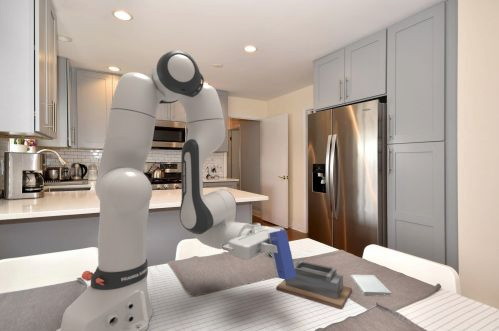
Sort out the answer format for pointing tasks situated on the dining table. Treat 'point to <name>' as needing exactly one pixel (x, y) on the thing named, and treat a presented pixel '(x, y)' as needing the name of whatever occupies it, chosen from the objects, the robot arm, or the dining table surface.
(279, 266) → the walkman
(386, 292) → the hard drive
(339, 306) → the dock
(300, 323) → the dining table surface
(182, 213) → the robot arm
